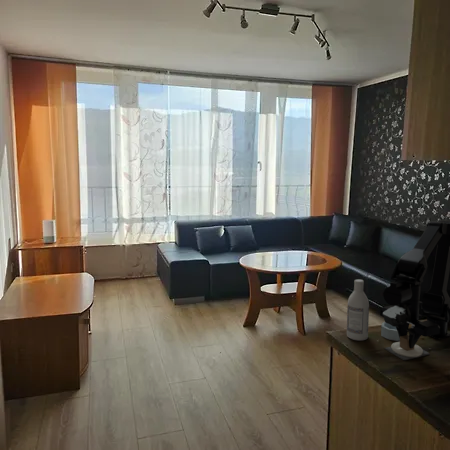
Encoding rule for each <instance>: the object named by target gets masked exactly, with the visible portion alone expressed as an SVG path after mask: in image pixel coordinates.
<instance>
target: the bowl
mask: <svg viewBox="0 0 450 450" xmlns="http://www.w3.org/2000/svg"><path fill="white" fill-rule="evenodd" d="M380 328H381V329H380V330H381V331H380V332H381V334H380V335H381V337H383V338H385V339H386V340H389V341H395V342H400V338H399V335H398V331H397V329H396V326H395V327H394V326H392V325H390V324H388V323H386V322H385V321H383V322H382V323H381V327H380Z"/></svg>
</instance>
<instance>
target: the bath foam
mask: <svg viewBox="0 0 450 450" xmlns="http://www.w3.org/2000/svg"><path fill="white" fill-rule="evenodd" d="M353 283H354V284H353V285H354V287H353V291H352V293H351V294H350V295H349V297H348V299H347V306H346V307H347V309H346V311H347V312H346V316H347V317H346V336H347V337H348V338H349V339H351V340H354V341H358V342H359V341H365V340H367V339H368V338H369V319H370V303H369V302H370V301H369V299H368V296H367V295H366V293H365V291H364V284H365V282H364V280H363V279H359V278H358V279H354V282H353Z"/></svg>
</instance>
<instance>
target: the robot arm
mask: <svg viewBox="0 0 450 450" xmlns="http://www.w3.org/2000/svg"><path fill="white" fill-rule="evenodd" d="M415 243H416V244H415V245H414V246H413V248H412V249H411V250H409V251H407V252H405V253H404V254H403V255H402V256H401V257H400V258H399V260H398V261H397V262H396V265H395V267H394V270H393V272H392V274H391V277H390V280H391V282H390V283H389V286H388V287H387V286H386V287H385V289H384V291H383V293H382V296H383V299H384V301H385V303H387V304H388V305H387V306H383V307H382V308H381V309H380V314H379V315H380V316H381V317H382V318H383V320H384V322H386V323H388V324H390V325H392V326H394V327H395V326H396V329H397V331H398V335H399V338H400V336H404V335H409V348H413V347H414V345H415V344H416V345H417V342H418V341H419V339H420V337H421V336H422V337H427V338H428V337H432V338H434V339H436V340H442V339H446V338H449V337H450V333H448V328H449V327H448V326H449V325H448V324H449V323H450V296H449V292H448V291H447V289H448V282H449V278H450V277H449V276H450V220H444V219H439V220H437V221H436V220H434V221H433V220H431V221H428V222H427V224H426V228H425V230H424V231H423V233H422V234H421V235H420V237H419V239H418V241H416V242H415ZM435 247H436V253H435V259H434V266H433V271H432V277H431V281H430V282H431V283H430V288H429V289H427V291H424V293H423V294H422V300H421V285H422V283H423V282H424V276H425V274H426V273H427V270H428V262H427V261H428V258H429V257H430V255H431V254H432V252H433V250H434V248H435ZM420 309H421V314H420ZM423 316H425V317H426V320H424V321H422V320H420V319H423ZM410 325H411V326H410Z"/></svg>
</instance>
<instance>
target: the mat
mask: <svg viewBox="0 0 450 450" xmlns="http://www.w3.org/2000/svg"><path fill="white" fill-rule="evenodd" d="M384 350H385V351H387V352H388V353H390V354H392V355H394V356H395V357H397V358H399V359H401V360H403V361H408V360H412V359H417V358H419V357H420V358H421V357H425V356H428V355H429V356H430V352H428V351H426V350H424V349H423V354H422V355H421V356H419V357H406V356H402V355H399V354H396V353H395V352H393V351H392V349H391V346H388V347H386V346H385V347H384Z"/></svg>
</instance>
